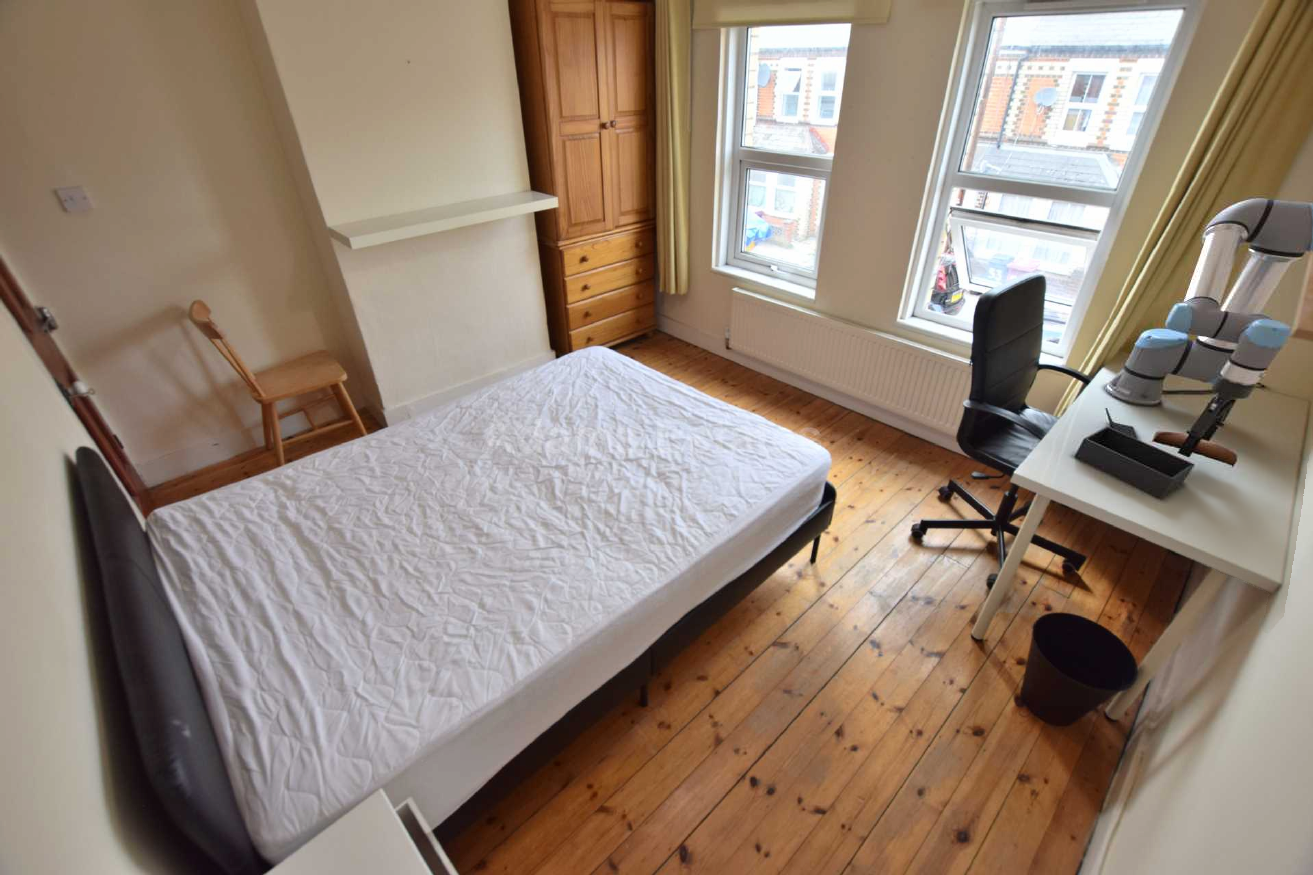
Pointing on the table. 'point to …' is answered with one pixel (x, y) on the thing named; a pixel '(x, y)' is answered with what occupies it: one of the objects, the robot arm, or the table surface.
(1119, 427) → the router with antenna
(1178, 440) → the sunglasses case
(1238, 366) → the robot arm
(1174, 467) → the bin
